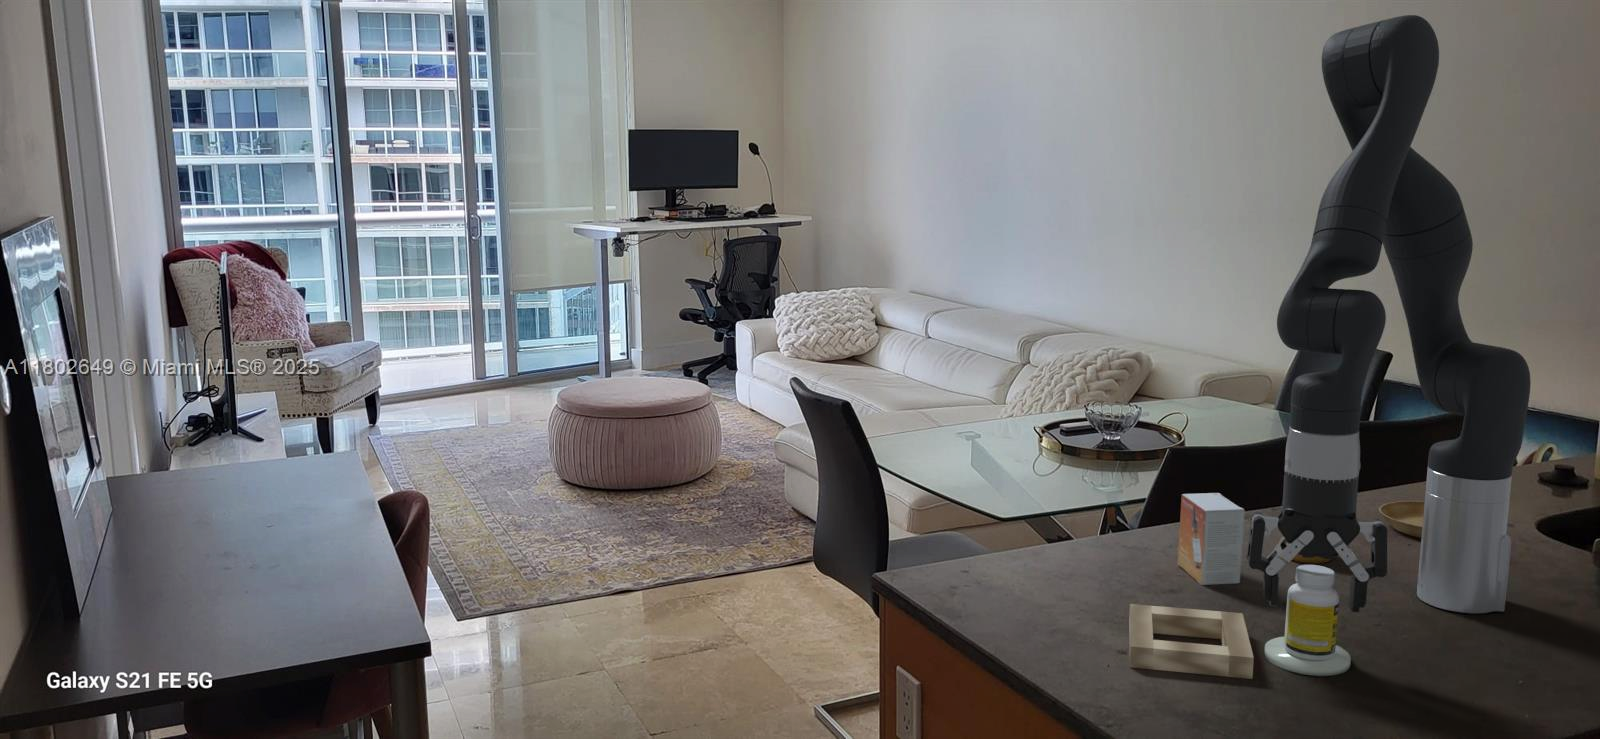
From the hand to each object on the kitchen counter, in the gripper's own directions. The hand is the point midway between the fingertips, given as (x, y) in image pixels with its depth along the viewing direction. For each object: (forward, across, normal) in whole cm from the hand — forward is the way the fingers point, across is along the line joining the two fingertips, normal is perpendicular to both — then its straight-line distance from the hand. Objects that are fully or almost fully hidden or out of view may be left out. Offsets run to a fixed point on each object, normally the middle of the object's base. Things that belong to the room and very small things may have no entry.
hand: (1312, 606), depth 133 cm
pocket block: (+6, +13, 0) cm, 15 cm away
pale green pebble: (+6, 0, 0) cm, 6 cm away
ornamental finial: (+7, -5, -37) cm, 38 cm away
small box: (+7, +9, -26) cm, 28 cm away
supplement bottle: (+6, 0, 0) cm, 6 cm away
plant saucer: (+7, -25, -54) cm, 60 cm away
